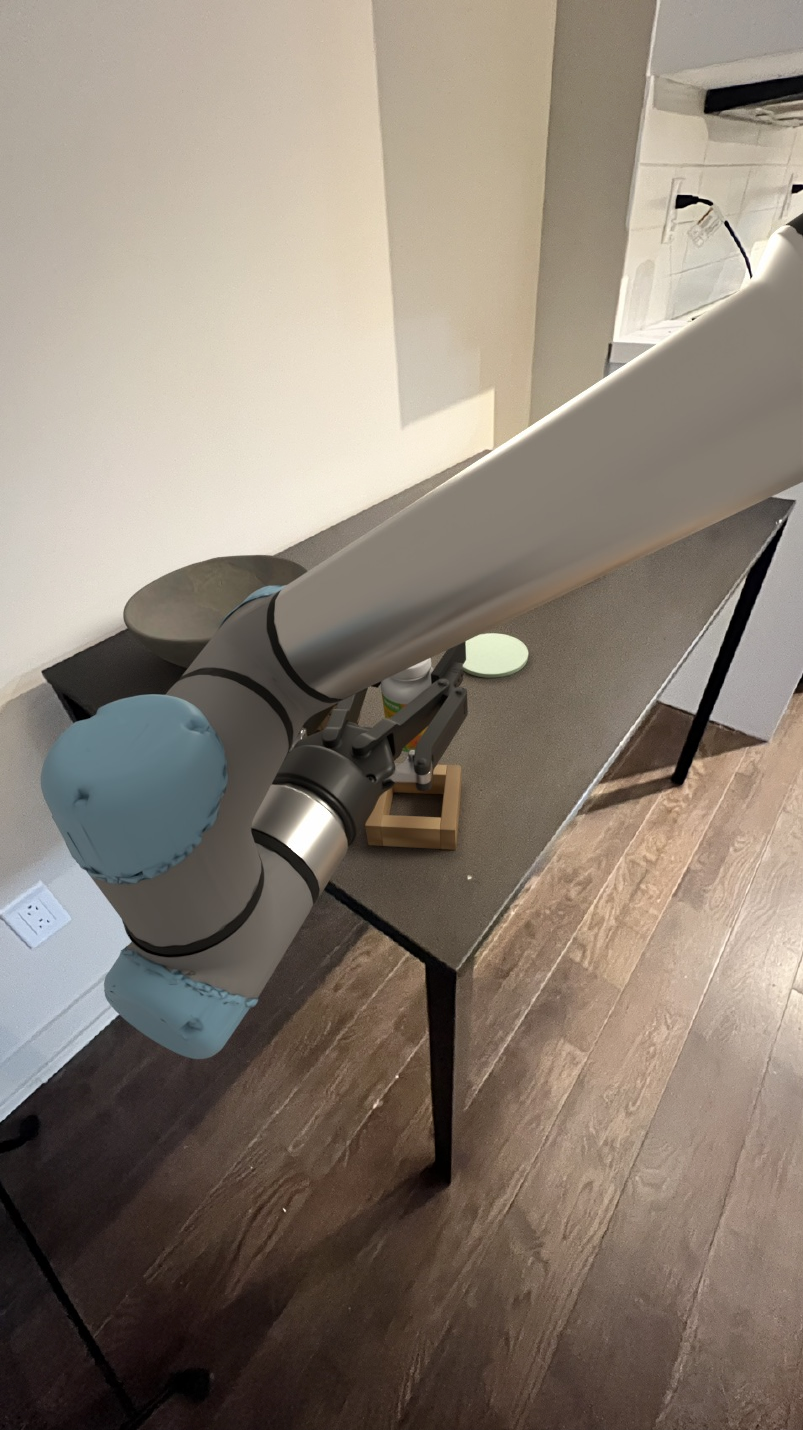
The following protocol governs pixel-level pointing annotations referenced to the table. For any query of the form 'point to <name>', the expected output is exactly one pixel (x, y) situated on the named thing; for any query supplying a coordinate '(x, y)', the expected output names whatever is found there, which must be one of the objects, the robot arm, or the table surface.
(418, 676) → the supplement bottle
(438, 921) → the table surface
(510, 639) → the coaster
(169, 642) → the bowl
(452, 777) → the holder
